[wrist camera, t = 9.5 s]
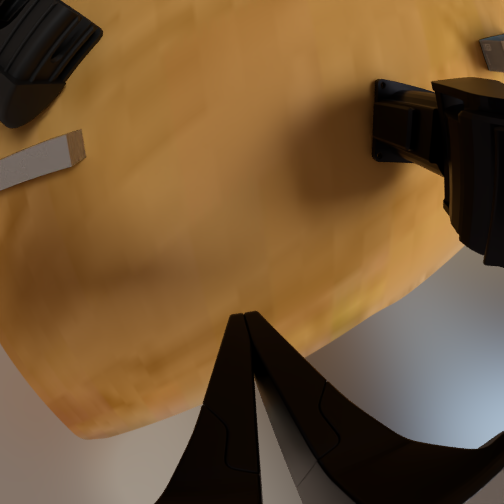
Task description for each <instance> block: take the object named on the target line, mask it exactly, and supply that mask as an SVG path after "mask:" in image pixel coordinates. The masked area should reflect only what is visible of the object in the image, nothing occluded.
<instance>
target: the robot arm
mask: <svg viewBox="0 0 504 504" xmlns="http://www.w3.org/2000/svg"><path fill="white" fill-rule="evenodd" d="M381 83H382V84H383V87H382V88H381ZM431 84H432V89H433V90H434V91H435V93H434V92H432V91H429V90H425V89H422V88H418V87H414V86H411V85H407V84H403V83H398V82H394V81H390V80H385V79H377V80H376V81H375V102H374V115H373V145H372V158H373V159H374V160H376V161H378V162H400V163H415V164H417V165H420V166H422V167H424V168H426V169H428V170H430V171H432V172H434V173H436V174H438V175H440V176H442V177H444V187H445V199H444V200H443V208H444V210H445V211H446V212H447V214H448V215H449V216H450V221H451V225H452V226H453V227H454V229H455V230H456V232H457V233H458V234H459V240H460V242H462V243H463V244H464V245H466V246H467V247H468V248H470V249H471V250H473V251H475V252H477V253H479V254H481V255H484V260H483V263H484V265H488V266H500V267H503V268H504V84H503V83H501V82H500V81H496V80H490V79H483V78H475V77H466V78H455V79H446V80H438V81H431ZM378 153H379V154H380V155H379V157H377V154H378ZM254 378H255V381H256V384H257V387H258V390H259V392H260V395H261V398H262V401H263V403H264V406H265V409H266V412H267V414H268V417H269V420H270V422H271V425H272V428H273V430H274V433H275V436H276V438H277V441H278V443H279V446H280V448H281V451H282V454H283V456H284V459H285V461H286V464H287V466H288V469H289V471H290V474H291V476H292V479H293V481H294V483H295V486H296V487H297V491H298V493H299V496H300V498H301V500H302V503H303V504H504V431H502V432H501V433H499V434H498V435H496V436H495V437H494V438H492V439H491V440H489V441H488V442H487V443H485V444H484V445H482V446H481V447H479V448H478V449H464V448H456V447H448V446H441V445H433V444H428V443H423V442H417V441H413V440H410V439H407V438H405V437H403V436H401V435H399V434H397V433H395V432H394V431H392V430H391V429H389V428H388V427H386V426H385V425H383V424H382V423H380V422H379V421H377V420H376V419H375V418H373V417H372V416H370V415H369V414H367V413H366V412H364V411H363V410H362V409H360V408H359V407H358V406H356V405H355V404H354V403H352V402H351V401H349V400H348V399H347V398H346V397H345V396H344V395H343V394H341V393H340V392H339V391H338V390H337V389H336V388H335V387H334V386H333V385H332V384H331V383H330V382H328V381H327V380H326V379H325V378H324V377H323V376H322V375H321V374H320V373H319V372H318V371H317V370H316V369H315V368H314V367H313V366H312V365H311V364H310V363H309V362H308V361H306V359H305V358H304V357H303V356H302V355H301V354H300V353H299V352H298V351H297V350H295V349H294V348H293V347H292V346H291V345H290V344H289V343H288V342H287V341H286V340H285V339H284V338H283V337H282V336H281V335H280V334H279V333H278V332H277V331H276V330H275V329H274V328H273V327H272V326H271V325H270V323H269V322H268V321H267V320H266V319H265V318H264V317H263V316H262V315H261V314H260V313H259V312H257V311H251V312H246V313H244V314H243V313H238V314H232V315H230V317H229V320H228V323H227V326H226V329H225V333H224V336H223V339H222V342H221V346H220V349H219V352H218V355H217V359H216V362H215V365H214V368H213V371H212V375H211V378H210V381H209V384H208V388H207V391H206V394H205V397H204V401H203V405H202V407H201V410H200V414H199V417H198V419H197V422H196V425H195V428H194V431H193V434H192V436H191V438H190V440H189V442H188V445H187V447H186V449H185V451H184V453H183V455H182V457H181V459H180V461H179V464H178V466H177V467H176V469H175V472H174V473H173V475H172V477H171V479H170V481H169V483H168V485H167V487H166V489H165V490H164V492H163V493H162V495H161V496H160V497H159V499H158V500H157V501H156V502H155V503H154V504H263V497H262V484H261V470H260V456H259V443H258V427H257V413H256V399H255V383H254ZM326 381H327V382H326Z"/></svg>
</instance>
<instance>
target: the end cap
mask: <svg viewBox="0 0 504 504" xmlns="http://www.w3.org/2000/svg"><path fill="white" fill-rule="evenodd" d="M102 36H103V31H102V29H101V28H100V27H98V26H97V25H96V24H94V23H93V22H91V21H90V20H89V19H87V18H86V17H84V16H83V15H82V14H80V13H79V12H77V11H76V10H74V9H73V8H71V7H70V6H68V5H67V4H65V3H64V2H62V1H61V0H0V121H1V122H2V123H3V124H4V125H5V126H6V127H8V128H18V127H20V126H23V125H25V124H26V123H28V122H30V121H31V120H32V119H34V118H35V117H36V116H37V115H38V114H39V113H41V112H42V111H43V110H44V109H45V108H46V107H47V106H48V105H49V104H50V103H51V102H52V101H53V99H54V98H55V97H56V96H57V95H58V94H59V92H60V91H61V90H62V88H63V87H64V86H65V85H66V83H65V82H66V80H67V79H68V78H69V77H70V75H71V74H72V73H73V71H74V70H75V69H76V67H77V66H78V65H79V64H80V62H81V61H82V60H83V59H84V58H85V56H86V55H87V54H88V53H89V52H90V50H91V49H92V48H93V47H94V46H95V45H96V44H97V43H98V41H99V40H100V39H101V37H102Z"/></svg>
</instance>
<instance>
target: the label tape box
mask: <svg viewBox="0 0 504 504" xmlns="http://www.w3.org/2000/svg"><path fill="white" fill-rule="evenodd" d="M479 42H480V44H481V47H482V50H483V54H484V57H485V60H486V63H487V66H488V69H489V71H496V72H503V73H504V34H503V35H498V36H493V37H489V38H485V39H481V40H479Z"/></svg>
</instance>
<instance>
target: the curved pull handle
mask: <svg viewBox="0 0 504 504" xmlns="http://www.w3.org/2000/svg"><path fill="white" fill-rule="evenodd" d="M84 158H86V153H85V147H84V142H83V135H82V129H80V130H76V131H73V132H70V133H67V134H64V135H61V136H58V137H55V138H52V139H49V140H46V141H44V142H41V143H38V144H36V145H33V146H31V147H28V148H26V149H23V150H21V151H18V152H16V153H14V154H12V155H9V156H7V157H5V158H3V159H1V160H0V190H3V189H5V188H8V187H11V186H13V185H16V184H19V183H21V182H24V181H27V180H30V179H33V178H36V177H39V176H42V175H45V174H48V173H51V172H55V171H58V170H61V169H65V168H68V167H72V166H73V165H75V164H76V163H78V162H79V161H81V160H82V159H84Z"/></svg>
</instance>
